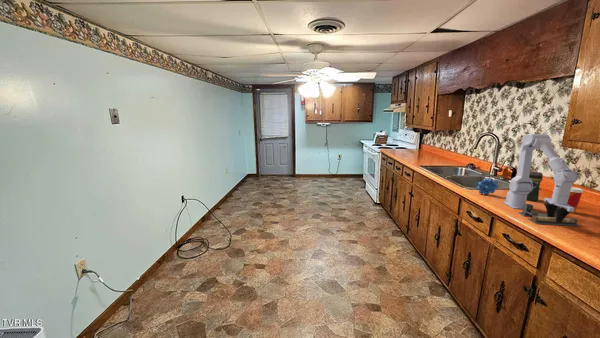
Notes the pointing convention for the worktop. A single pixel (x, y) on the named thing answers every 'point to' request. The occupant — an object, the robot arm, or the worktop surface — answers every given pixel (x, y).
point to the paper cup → (574, 197)
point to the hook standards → (528, 211)
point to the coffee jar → (535, 185)
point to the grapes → (487, 186)
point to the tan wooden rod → (554, 219)
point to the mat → (554, 223)
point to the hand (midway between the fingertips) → (554, 219)
